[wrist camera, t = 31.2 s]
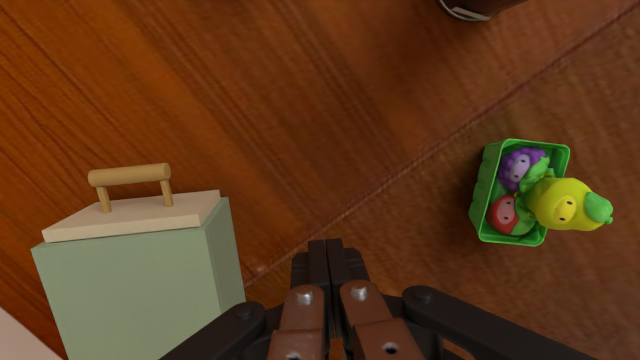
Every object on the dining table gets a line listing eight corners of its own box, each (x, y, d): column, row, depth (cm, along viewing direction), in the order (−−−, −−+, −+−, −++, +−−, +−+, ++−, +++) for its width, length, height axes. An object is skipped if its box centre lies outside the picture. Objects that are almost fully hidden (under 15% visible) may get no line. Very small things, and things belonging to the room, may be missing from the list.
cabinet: (98, 210, 37) (29, 249, 28) (228, 196, 38) (204, 230, 28) (135, 340, 42) (86, 411, 32) (250, 326, 42) (236, 392, 33)
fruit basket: (477, 132, 38) (550, 146, 27) (547, 141, 38) (646, 158, 28) (454, 223, 40) (512, 270, 29) (521, 230, 41) (601, 278, 30)
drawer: (85, 164, 35) (25, 183, 27) (212, 151, 35) (188, 167, 28) (131, 328, 40) (92, 383, 33) (241, 315, 41) (228, 366, 33)
